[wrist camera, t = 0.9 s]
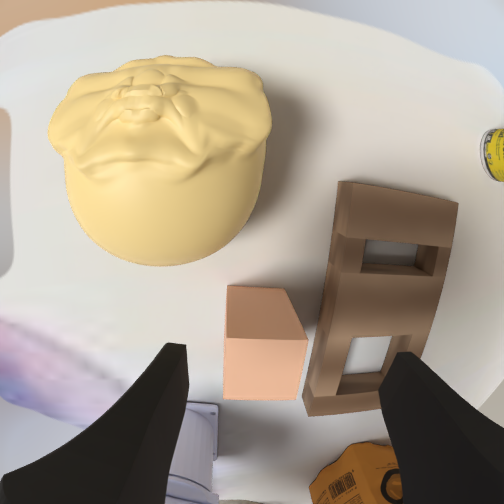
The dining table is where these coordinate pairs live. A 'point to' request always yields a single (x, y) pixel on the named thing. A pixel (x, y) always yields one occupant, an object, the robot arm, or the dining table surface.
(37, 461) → the robot arm
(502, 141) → the supplement bottle
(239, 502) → the ceramic cottage
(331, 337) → the socket board
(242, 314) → the square peg
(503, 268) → the dining table surface
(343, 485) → the coffee package
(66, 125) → the sculpture
